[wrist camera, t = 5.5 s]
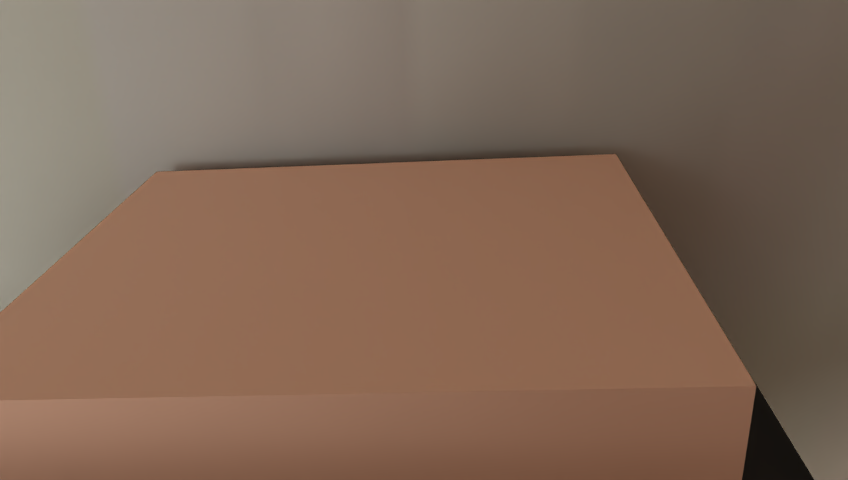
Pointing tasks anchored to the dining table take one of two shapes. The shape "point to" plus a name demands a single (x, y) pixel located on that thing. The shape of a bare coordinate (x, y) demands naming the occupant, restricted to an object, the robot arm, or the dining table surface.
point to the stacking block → (373, 333)
